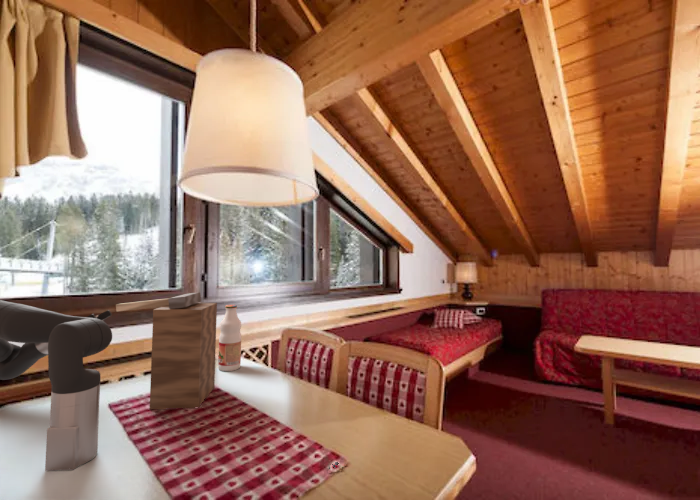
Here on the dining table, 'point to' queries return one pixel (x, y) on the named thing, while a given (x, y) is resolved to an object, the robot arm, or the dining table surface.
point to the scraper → (162, 302)
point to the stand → (183, 355)
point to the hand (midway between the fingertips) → (102, 314)
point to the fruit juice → (230, 341)
